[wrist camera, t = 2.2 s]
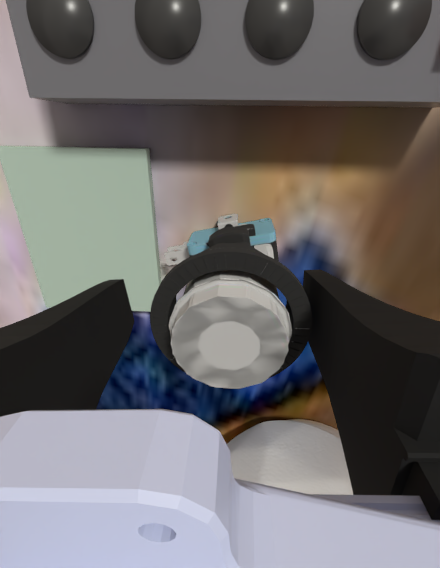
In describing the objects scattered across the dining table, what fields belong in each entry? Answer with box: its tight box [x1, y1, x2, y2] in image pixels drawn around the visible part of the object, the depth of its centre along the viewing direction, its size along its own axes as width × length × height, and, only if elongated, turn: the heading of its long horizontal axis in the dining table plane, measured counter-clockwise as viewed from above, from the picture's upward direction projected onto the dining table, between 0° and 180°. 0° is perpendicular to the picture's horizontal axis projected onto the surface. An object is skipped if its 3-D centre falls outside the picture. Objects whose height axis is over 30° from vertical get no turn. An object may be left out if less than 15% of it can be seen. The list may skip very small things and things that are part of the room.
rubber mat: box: [0, 146, 161, 312], centre depth 18 cm, size 8×10×1 cm
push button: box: [150, 214, 312, 389], centre depth 13 cm, size 7×5×10 cm
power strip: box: [6, 0, 440, 108], centre depth 12 cm, size 18×5×4 cm, turn 89°
